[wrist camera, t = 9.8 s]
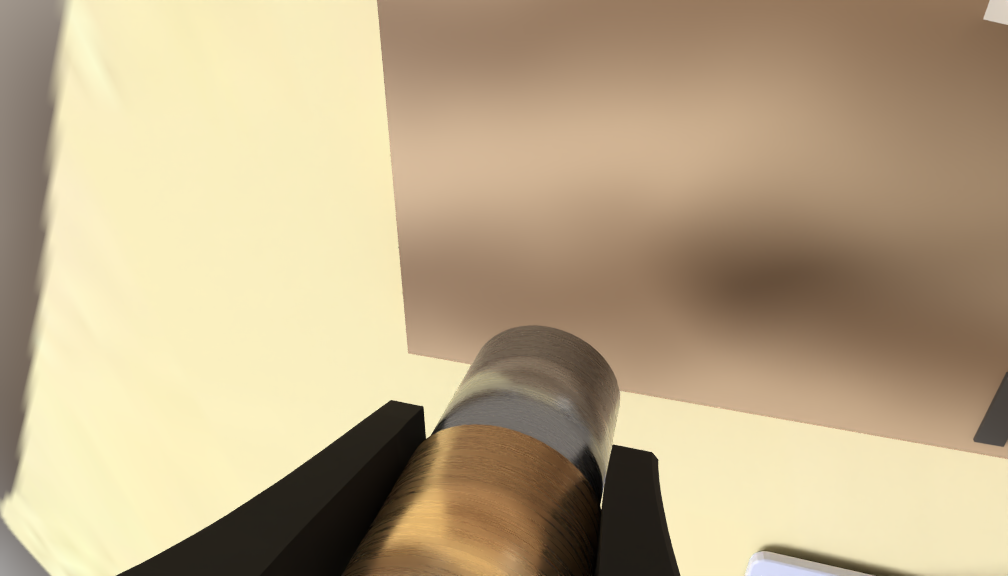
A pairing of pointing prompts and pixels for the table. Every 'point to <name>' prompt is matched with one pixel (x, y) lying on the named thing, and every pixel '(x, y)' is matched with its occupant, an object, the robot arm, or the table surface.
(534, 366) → the copper and grey cylinder
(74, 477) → the table surface
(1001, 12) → the white open box
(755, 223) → the subfloor
